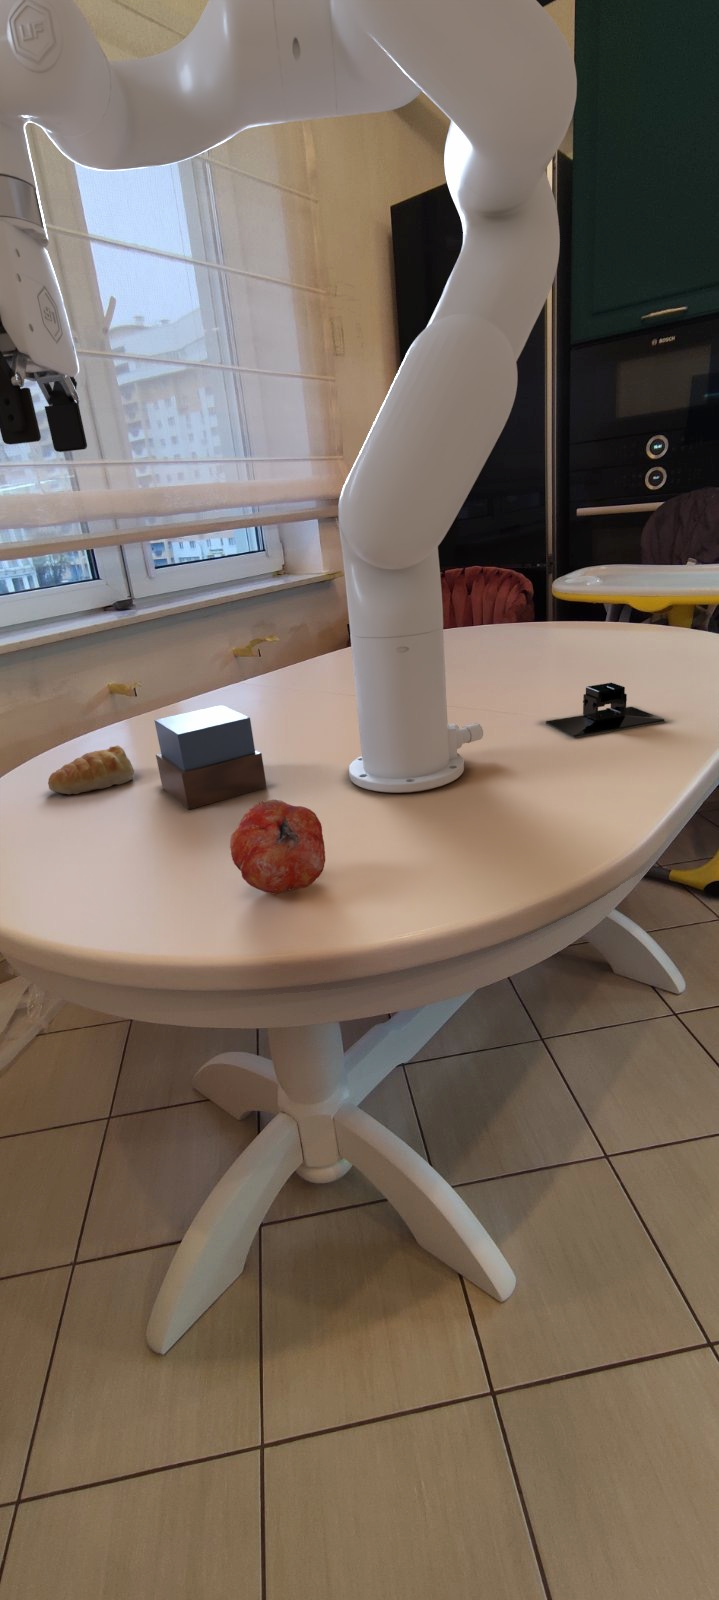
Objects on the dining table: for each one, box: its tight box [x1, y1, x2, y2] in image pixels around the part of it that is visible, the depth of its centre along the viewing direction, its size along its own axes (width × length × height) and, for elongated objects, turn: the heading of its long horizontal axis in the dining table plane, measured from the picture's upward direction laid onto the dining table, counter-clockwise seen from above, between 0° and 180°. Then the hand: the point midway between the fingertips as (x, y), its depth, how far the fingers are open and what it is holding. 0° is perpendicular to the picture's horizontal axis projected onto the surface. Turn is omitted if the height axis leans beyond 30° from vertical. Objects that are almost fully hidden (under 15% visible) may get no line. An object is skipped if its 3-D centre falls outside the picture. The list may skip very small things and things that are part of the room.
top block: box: [154, 704, 256, 771], centre depth 79 cm, size 8×8×4 cm
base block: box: [155, 749, 267, 810], centre depth 80 cm, size 9×9×4 cm
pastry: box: [47, 745, 135, 796], centre depth 85 cm, size 9×7×4 cm
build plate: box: [545, 682, 666, 739], centre depth 89 cm, size 12×7×5 cm, turn 105°
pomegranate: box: [229, 799, 326, 895], centre depth 57 cm, size 7×7×10 cm
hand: (48, 446), depth 67 cm, fingers open, 9 cm apart
